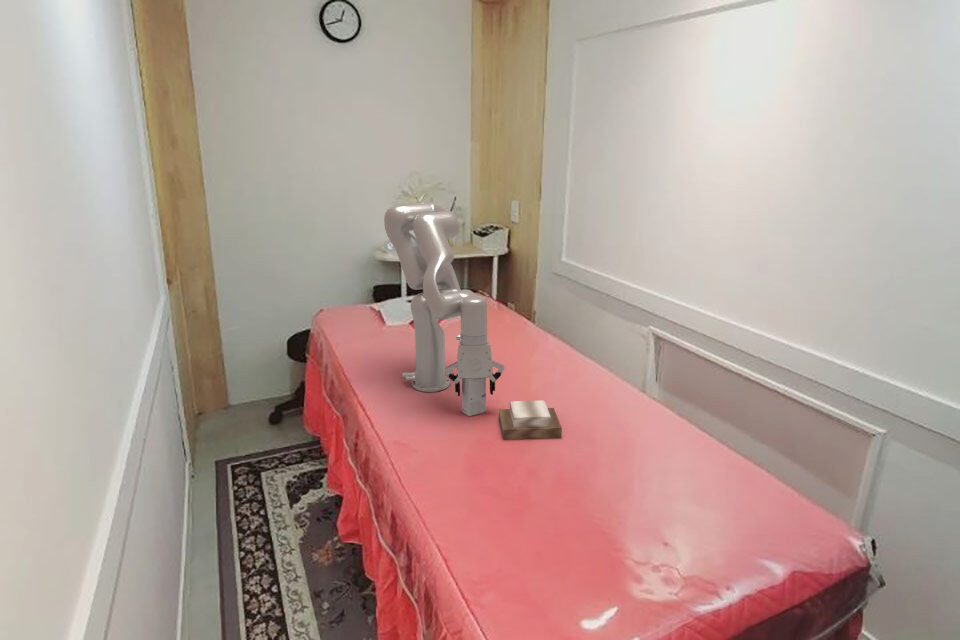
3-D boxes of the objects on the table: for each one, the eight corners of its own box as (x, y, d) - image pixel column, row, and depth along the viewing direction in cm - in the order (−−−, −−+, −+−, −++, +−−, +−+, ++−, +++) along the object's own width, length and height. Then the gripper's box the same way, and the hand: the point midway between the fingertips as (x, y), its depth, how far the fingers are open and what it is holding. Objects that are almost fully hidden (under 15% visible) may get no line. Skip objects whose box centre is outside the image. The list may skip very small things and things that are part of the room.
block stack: (503, 439, 158) (503, 419, 157) (498, 418, 170) (499, 400, 168) (561, 437, 160) (562, 418, 158) (553, 417, 171) (554, 398, 169)
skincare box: (469, 417, 171) (469, 379, 167) (461, 411, 174) (460, 373, 170) (486, 411, 174) (486, 374, 170) (478, 406, 177) (478, 369, 174)
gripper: (444, 344, 163) (445, 400, 168) (505, 342, 164) (505, 397, 169) (443, 335, 170) (445, 389, 175) (502, 333, 171) (502, 387, 176)
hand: (475, 393), depth 172 cm, fingers open, 9 cm apart
